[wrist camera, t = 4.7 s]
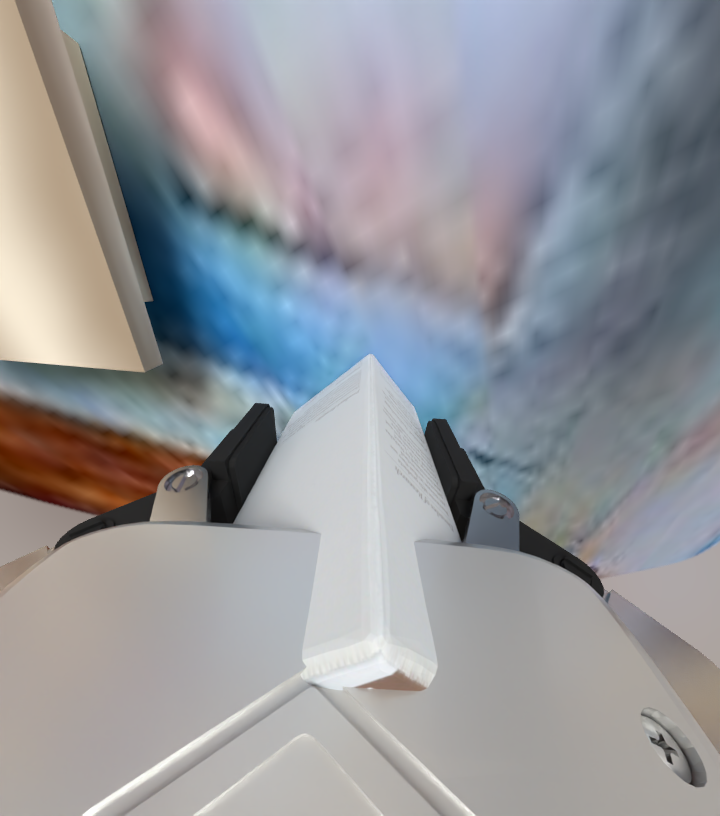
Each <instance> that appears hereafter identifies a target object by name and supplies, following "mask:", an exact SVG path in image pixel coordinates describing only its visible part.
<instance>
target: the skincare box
mask: <svg viewBox="0 0 720 816" xmlns="http://www.w3.org/2000/svg"><path fill="white" fill-rule="evenodd" d="M233 524H241V525H255V526H268V527H282V528H295V529H305V530H309V531H313V532H316V533H320V534H321V539H320V546H319V552H318V558H317V564H316V571H315V577H314V583H313V590H312V596H311V602H310V608H309V613H308V619H307V625H306V631H305V637H304V643H303V649H302V660H303V662H304V664H305V665H306V668H305V670H304V671H303V672H302V673H301V674H300V675H301V677H302V679H303V680H304V681H305V682H307V683H308V684H310V685H312V686H318V687H323V688H328V689H334V690H343V687H342V686H344V687H354V688H368V689H385V690H401V691H422V690H425V689H427V688H428V686H429V685H430V683H431V681H432V680H433V678H434V676H435V675H436V671H437V668H438V665H437V657H436V651H435V646H434V641H433V637H432V632H431V627H430V622H429V618H428V613H427V608H426V603H425V598H424V593H423V588H422V583H421V578H420V573H419V567H418V562H417V557H416V551H415V546H414V542H415V541H418V540H423V539H429V540H441V541H451V542H460V543H462V542H461V539H460V536H459V533H458V530H457V527H456V524H455V522H454V519H453V516H452V513H451V510H450V507H449V505H448V502H447V499H446V496H445V493H444V490H443V488H442V485H441V482H440V479H439V476H438V473H437V470H436V467H435V465H434V462H433V459H432V456H431V453H430V450H429V447H428V444H427V442H426V439H425V436H424V433H423V430H422V428H421V425H420V422H419V419H418V416H417V414H416V410H415V408H414V406H413V405H412V404H411V403H410V402H409V400H408V399H407V398H406V397H405V395H404V394H403V393H402V392H401V390H400V389H399V388H398V386H397V385H396V384H395V383H394V381H393V380H392V379H391V378H390V376H389V375H388V374H387V372H386V371H385V370H384V369H383V367H382V366H381V365H380V363H379V362H378V361H377V359H376V358H375V357H374V355H372V354H369V355H367V356H366V357H365V358H363V359H362V360H361V361H360V362H358V363H357V364H356V365H354V366H353V367H352V368H351V369H349V370H348V371H347V372H345V373H344V374H343V375H341V376H340V377H339V378H338V379H336V380H335V381H334V382H332V383H331V384H330V385H329V386H327V387H326V388H325V389H323V390H322V391H321V392H320V393H318V394H317V395H316V396H314V397H313V398H312V399H311V400H309V401H308V402H307V403H305V404H304V405H303V406H301V407H300V408H299V409H298V410H296V411H295V412H294V413H293V415H292V416H291V418H290V420H289V422H288V424H287V426H286V427H285V429H284V431H283V433H282V434H281V436H280V438H279V440H278V442H277V444H276V446H275V447H274V449H273V451H272V453H271V455H270V457H269V458H268V460H267V462H266V464H265V466H264V468H263V469H262V471H261V473H260V475H259V477H258V479H257V480H256V482H255V484H254V486H253V488H252V490H251V492H250V493H249V495H248V497H247V499H246V501H245V503H244V504H243V506H242V508H241V510H240V512H239V513H238V515H237V517H236V519H235V521H234V522H233Z"/></svg>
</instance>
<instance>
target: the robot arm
mask: <svg viewBox="0 0 720 816" xmlns="http://www.w3.org/2000/svg"><path fill="white" fill-rule="evenodd" d="M424 436H425V439H426V442H427V444H428V447H429V450H430V453H431V456H432V459H433V462H434V465H435V467H436V470H437V473H438V476H439V479H440V482H441V485H442V488H443V490H444V493H445V496H446V499H447V502H448V505H449V507H450V510H451V513H452V516H453V519H454V522H455V524H456V527H457V530H458V533H459V536H460V539H461V542H462V543H460V542H451V541H441V540H429V539H423V540H418V541H415V542H414V546H415V551H416V557H417V562H418V567H419V573H420V578H421V583H422V588H423V593H424V598H425V603H426V608H427V613H428V618H429V622H430V627H431V632H432V637H433V641H434V646H435V651H436V657H437V665H438V668H437V671H436V675H435V676H434V678H433V680H432V681H431V683H430V685H429V686H428V688H427V689H425V690H422V691H401V690H385V689H368V688H354V687H344V686H342V687H343V690H334V689H328V688H323V687H318V686H312V685H310V684H308V683H307V682H305V681H304V680H303V679H302V677H301V675H300V674H301V673H302V672H303V671H304V670H305V668H306V665H305V664H304V662H303V660H302V649H303V643H304V637H305V631H306V625H307V619H308V613H309V608H310V602H311V596H312V590H313V583H314V577H315V571H316V564H317V558H318V552H319V546H320V539H321V534H320V533H316V532H313V531H309V530H305V529H295V528H282V527H268V526H255V525H241V524H233V522H234V521H235V519H236V517H237V515H238V513H239V512H240V510H241V508H242V506H243V504H244V503H245V501H246V499H247V497H248V495H249V493H250V492H251V490H252V488H253V486H254V484H255V482H256V480H257V479H258V477H259V475H260V473H261V471H262V469H263V468H264V466H265V464H266V462H267V460H268V458H269V457H270V455H271V453H272V451H273V449H274V447H275V446H276V444H277V438H276V428H275V418H274V409H273V408H272V407H270V406H269V404H261V403H255V404H254V405H253V407H252V408H251V409H250V410H249V411H248V413H247V414H246V415H245V416H244V417H243V419H242V420H241V421H240V422H239V423H238V425H237V426H236V427H235V428H234V429H232V430H231V431H230V432H229V433H228V435H227V436H226V437H225V438H224V439H223V440H222V442H221V443H220V444H219V445H218V446H217V448H216V449H215V450H214V451H213V452H212V454H211V455H210V456H209V457H208V458H207V459H206V461H205V462H204V463H203V464H202V465H201V466H194V465H192V466H185V467H182V468H178V469H176V470H174V471H172V472H170V473H169V474H168V475H166V476H165V477H164V478H163V479H162V480H161V482H160V484H159V486H158V490H157V492H156V493H154V494H151V495H149V496H146V497H144V498H141V499H139V500H136V501H134V502H131V503H129V504H126V505H124V506H121V507H119V508H116V509H114V510H111V511H109V512H106V513H104V514H101V515H99V516H96V517H94V518H91V519H89V520H87V521H85V522H83V523H81V524H79V525H77V526H75V527H74V528H72V529H71V530H69V531H68V532H67V533H66V534H65V535H64V536H62V538H60V540H59V541H58V542H57V544H56V545H55V547H53V548H51V549H49V548H48V546H45V547H42V548H40V549H38V550H36V551H34V552H31V553H29V554H27V555H25V556H23V557H21V558H18V559H16V560H14V561H12V562H10V563H7V564H5V565H3V566H1V567H0V816H720V669H719V668H718V667H717V666H716V665H715V664H714V663H713V662H712V661H710V660H709V659H708V658H707V657H706V656H704V655H703V654H702V653H701V652H699V651H698V650H697V649H695V648H694V647H692V646H691V645H690V644H688V643H687V642H685V641H684V640H682V639H681V638H680V637H678V636H677V635H676V634H674V633H673V632H671V631H670V630H669V629H667V628H666V627H664V626H663V625H661V624H660V623H659V622H657V621H656V620H654V619H653V618H652V617H650V616H649V615H647V614H646V613H644V612H643V611H642V610H640V609H639V608H637V607H636V606H635V605H633V604H632V603H630V602H629V601H628V600H626V599H625V598H623V597H622V596H621V595H619V594H618V593H616V592H615V591H614V590H611V591H610V592H608V591H606V590H605V589H604V588H603V585H602V583H601V581H600V579H599V578H598V576H597V575H596V574H595V572H594V571H593V570H592V569H591V568H590V567H589V566H588V565H587V564H585V563H584V562H583V561H581V560H580V559H578V558H577V557H575V556H574V555H572V554H571V553H569V552H567V551H566V550H564V549H563V548H561V547H560V546H558V545H556V544H555V543H553V542H552V541H550V540H549V539H547V538H545V537H544V536H542V535H541V534H539V533H538V532H536V531H534V530H533V529H531V528H530V527H528V526H527V525H525V524H523V523H522V522H520V521H519V512H518V509H517V507H516V506H515V504H514V503H513V502H512V501H511V500H510V499H509V498H507V497H506V496H505V495H503V494H501V493H499V492H496V491H493V490H485V489H484V487H483V485H482V483H481V481H480V479H479V477H478V475H477V473H476V471H475V469H474V467H473V466H472V464H471V462H470V460H469V458H468V456H467V454H466V452H465V451H464V449H462V448H460V446H459V444H458V442H457V440H456V438H455V436H454V434H453V432H452V430H451V428H450V426H449V424H448V422H447V420H445V419H435V418H434V419H432V421H428V423H427V427H426V431H425V435H424Z"/></svg>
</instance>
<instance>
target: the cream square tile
mask: <svg viewBox="0 0 720 816" xmlns="http://www.w3.org/2000/svg"><path fill="white" fill-rule="evenodd" d="M149 301H153V298H152V295H151V291H150V288H149V284H148V281H147V277H146V274H145V271H144V267H143V264H142V260H141V257H140V253H139V250H138V246H137V243H136V240H135V236H134V233H133V229H132V226H131V222H130V219H129V215H128V212H127V209H126V205H125V202H124V198H123V195H122V191H121V188H120V185H119V181H118V178H117V174H116V171H115V167H114V164H113V160H112V157H111V154H110V150H109V147H108V143H107V140H106V136H105V133H104V129H103V126H102V123H101V119H100V116H99V112H98V109H97V105H96V102H95V99H94V95H93V92H92V88H91V85H90V81H89V78H88V74H87V71H86V68H85V64H84V61H83V57H82V54H81V50H80V47H79V44H78V43H77V42H76V41H74V40H73V39H72V38H71V37H69V36H68V35H67V34H66V33H64V32H63V31H62V30H60V27H59V24H58V20H57V17H56V14H55V11H54V7H53V4H52V1H51V0H0V360H8V361H19V362H31V363H43V364H54V365H66V366H77V367H89V368H101V369H112V370H124V371H135V372H147V371H149V370H151V369H153V368H155V367H157V366H160V365H162V364H163V362H162V358H161V355H160V352H159V349H158V345H157V342H156V339H155V336H154V332H153V329H152V326H151V323H150V319H149V316H148V313H147V310H146V306H145V303H144V302H149Z"/></svg>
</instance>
